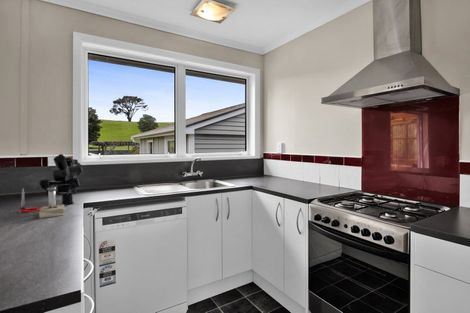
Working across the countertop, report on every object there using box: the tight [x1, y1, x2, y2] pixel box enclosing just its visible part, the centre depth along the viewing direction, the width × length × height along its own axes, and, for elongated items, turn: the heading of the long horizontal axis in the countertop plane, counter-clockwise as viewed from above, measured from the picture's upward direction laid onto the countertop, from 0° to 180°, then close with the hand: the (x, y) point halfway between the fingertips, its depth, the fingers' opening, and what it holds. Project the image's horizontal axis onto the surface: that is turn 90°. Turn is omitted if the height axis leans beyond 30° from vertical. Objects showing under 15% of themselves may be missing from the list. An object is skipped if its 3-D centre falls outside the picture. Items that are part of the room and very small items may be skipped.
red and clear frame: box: [17, 188, 41, 214], centre depth 143 cm, size 8×13×9 cm
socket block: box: [38, 204, 65, 219], centre depth 135 cm, size 12×10×4 cm
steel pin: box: [47, 186, 57, 209], centre depth 135 cm, size 4×4×14 cm
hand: (57, 195), depth 143 cm, fingers open, 9 cm apart
